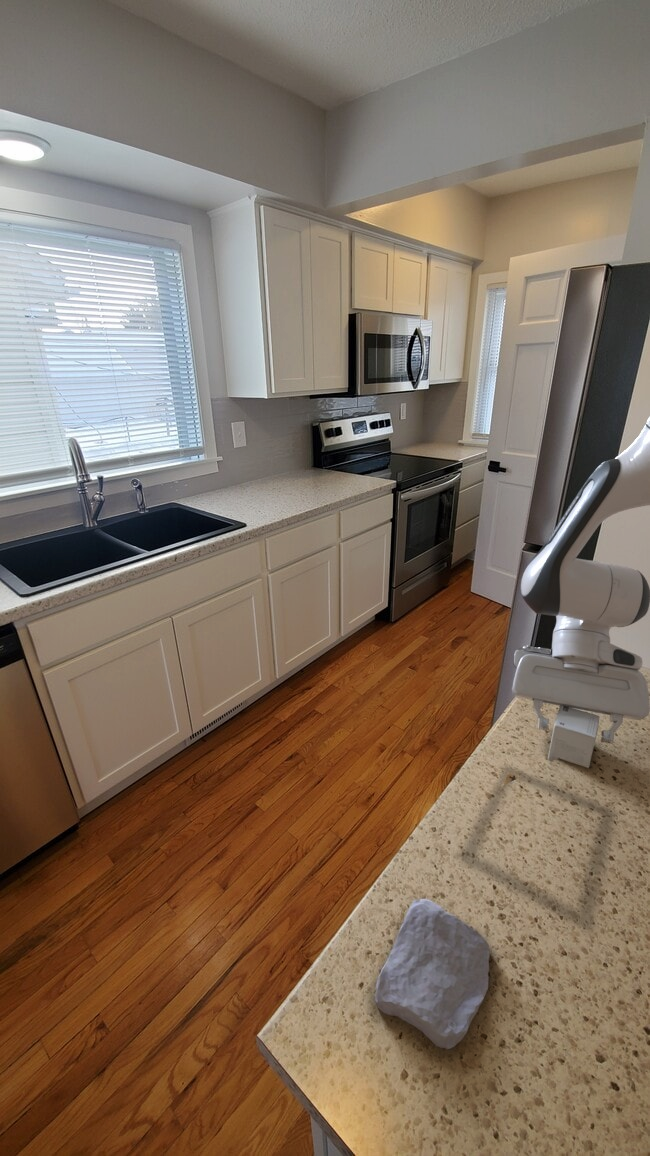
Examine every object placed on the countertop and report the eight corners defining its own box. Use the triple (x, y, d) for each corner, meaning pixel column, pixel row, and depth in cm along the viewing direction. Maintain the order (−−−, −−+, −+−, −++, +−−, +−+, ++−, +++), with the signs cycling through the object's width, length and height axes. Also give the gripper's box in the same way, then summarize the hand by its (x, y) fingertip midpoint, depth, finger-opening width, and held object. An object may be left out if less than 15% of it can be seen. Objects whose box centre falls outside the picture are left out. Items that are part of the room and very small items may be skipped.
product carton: (587, 774, 77) (596, 738, 74) (546, 760, 80) (553, 724, 77) (591, 750, 82) (600, 715, 79) (553, 737, 85) (559, 703, 82)
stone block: (489, 958, 56) (409, 904, 59) (502, 939, 53) (418, 883, 57) (456, 1081, 47) (365, 1007, 50) (470, 1065, 44) (373, 988, 48)
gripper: (516, 639, 84) (507, 720, 80) (653, 659, 77) (652, 749, 73) (513, 648, 89) (505, 724, 85) (641, 667, 82) (639, 751, 78)
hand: (574, 736), depth 79 cm, fingers open, 8 cm apart
